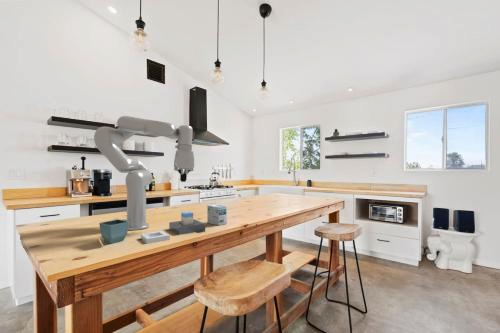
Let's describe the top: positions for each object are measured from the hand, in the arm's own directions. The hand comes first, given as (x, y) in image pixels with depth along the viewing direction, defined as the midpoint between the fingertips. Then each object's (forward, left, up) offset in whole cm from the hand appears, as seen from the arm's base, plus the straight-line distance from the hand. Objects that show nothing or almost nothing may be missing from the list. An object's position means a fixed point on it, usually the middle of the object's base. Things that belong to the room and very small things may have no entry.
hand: (183, 181), depth 134 cm
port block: (+4, -5, -26) cm, 26 cm away
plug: (+5, -5, -25) cm, 26 cm away
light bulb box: (+15, +14, -26) cm, 33 cm away
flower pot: (-20, -29, -26) cm, 43 cm away
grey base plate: (-4, -23, -26) cm, 34 cm away
